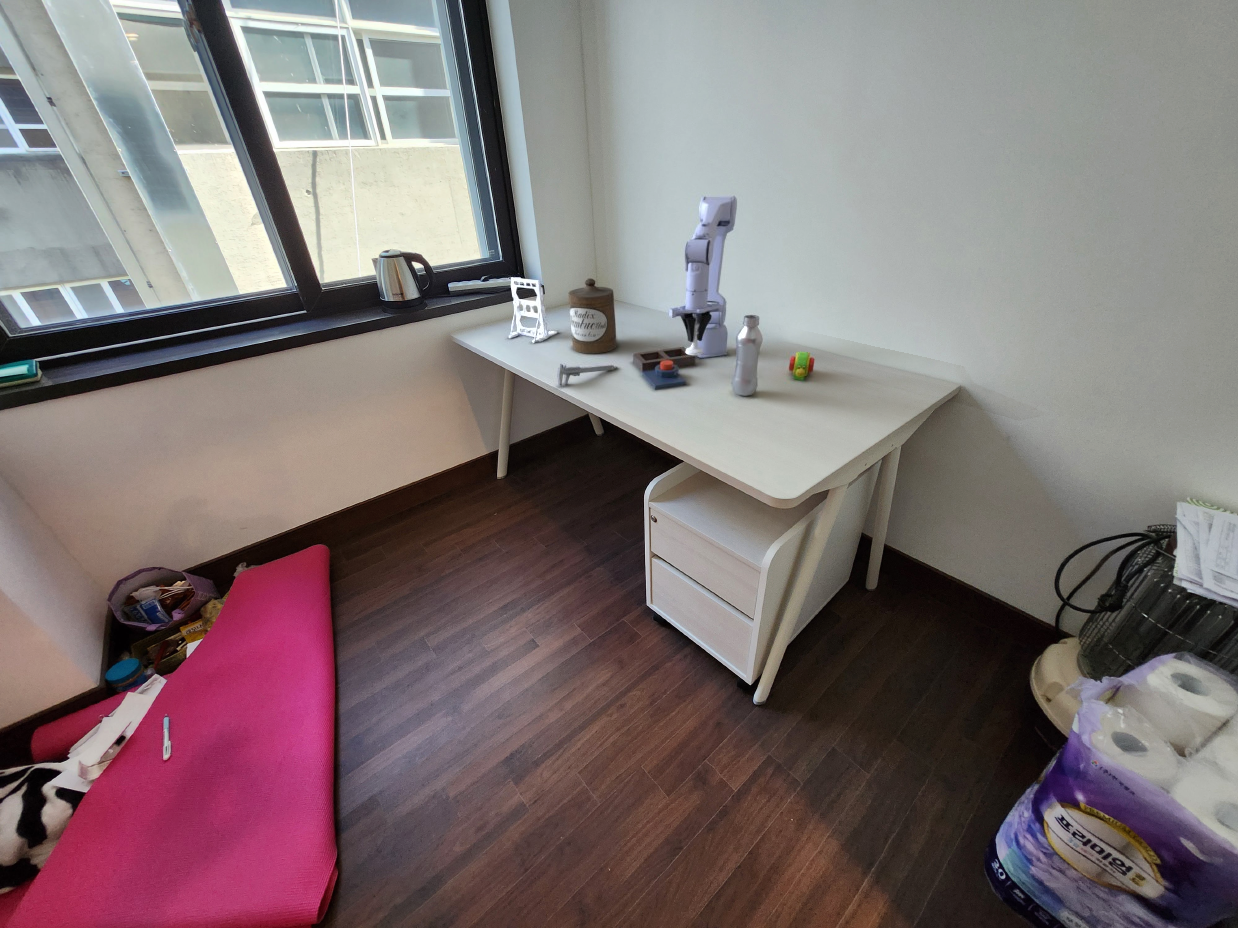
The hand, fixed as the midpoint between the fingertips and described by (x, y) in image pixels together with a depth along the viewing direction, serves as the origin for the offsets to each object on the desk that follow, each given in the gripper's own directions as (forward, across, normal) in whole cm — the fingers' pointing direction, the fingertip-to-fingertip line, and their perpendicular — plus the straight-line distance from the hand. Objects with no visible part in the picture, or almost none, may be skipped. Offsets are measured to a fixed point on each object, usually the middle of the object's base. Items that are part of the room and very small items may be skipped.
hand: (694, 340), depth 133 cm
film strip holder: (+11, -38, +57) cm, 70 cm away
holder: (+10, -4, +12) cm, 16 cm away
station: (+10, -9, 0) cm, 14 cm away
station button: (+8, -8, +1) cm, 11 cm away
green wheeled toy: (+10, +30, -7) cm, 33 cm away
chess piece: (+4, 0, 0) cm, 4 cm away
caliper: (+10, -28, +10) cm, 32 cm away
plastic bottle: (+10, +7, -16) cm, 21 cm away
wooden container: (+11, -20, +36) cm, 43 cm away
